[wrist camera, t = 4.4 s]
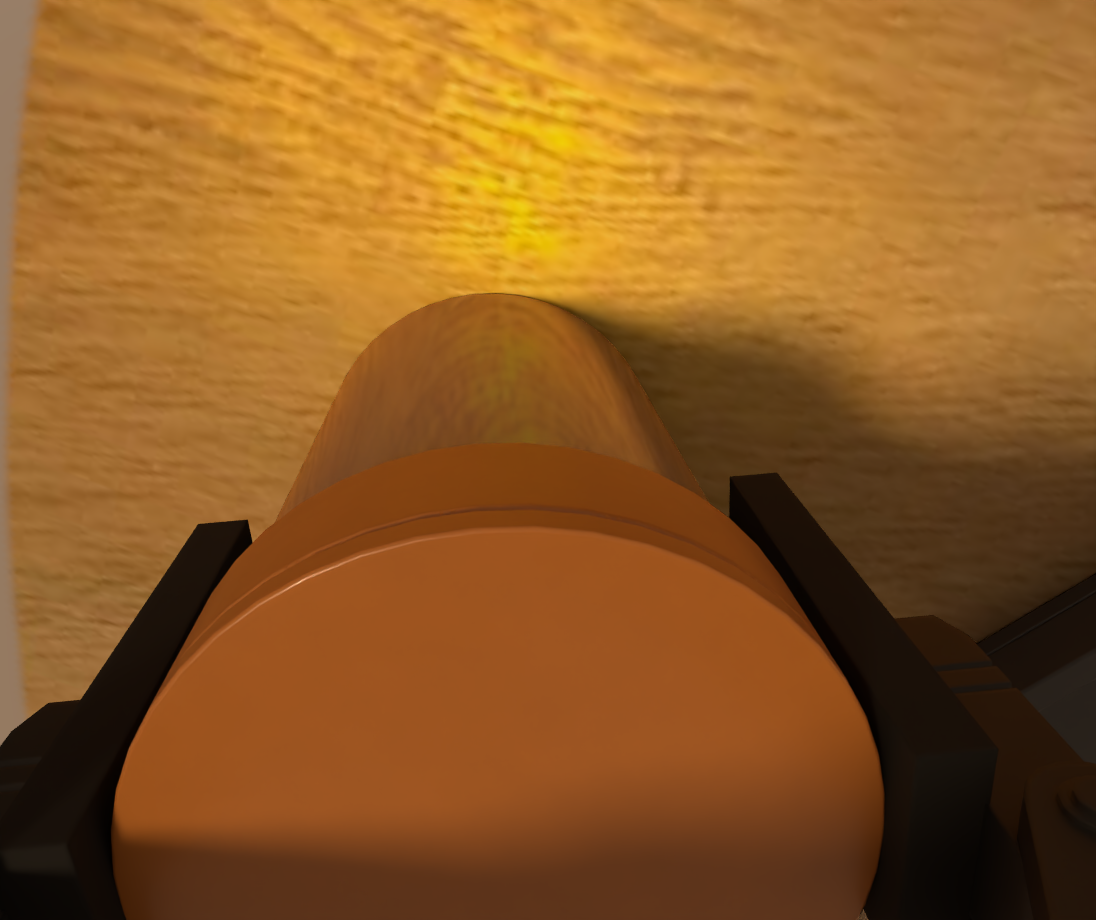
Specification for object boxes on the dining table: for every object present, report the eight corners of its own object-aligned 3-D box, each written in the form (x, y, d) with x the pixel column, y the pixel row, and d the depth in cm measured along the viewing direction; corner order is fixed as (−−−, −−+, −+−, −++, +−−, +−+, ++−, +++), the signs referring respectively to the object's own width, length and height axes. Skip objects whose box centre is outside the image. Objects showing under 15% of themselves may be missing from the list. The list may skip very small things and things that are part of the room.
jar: (462, 647, 21) (448, 1139, 11) (257, 423, 19) (5, 790, 9) (712, 482, 20) (947, 863, 10) (529, 222, 18) (596, 377, 8)
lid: (627, 1022, 13) (654, 1187, 11) (94, 870, 11) (11, 1034, 9) (936, 595, 10) (1040, 707, 9) (321, 320, 9) (276, 382, 7)
